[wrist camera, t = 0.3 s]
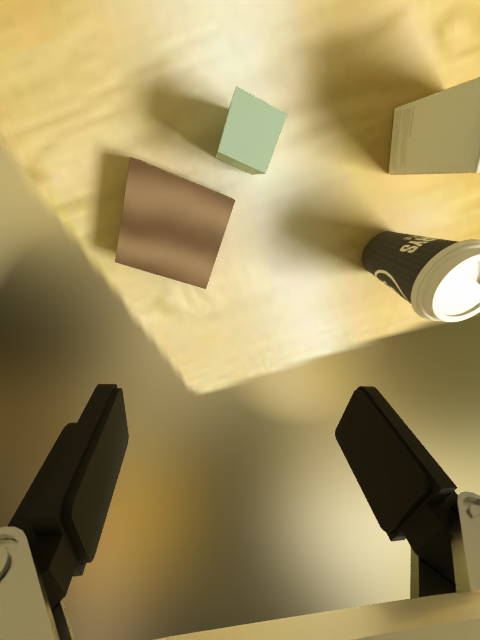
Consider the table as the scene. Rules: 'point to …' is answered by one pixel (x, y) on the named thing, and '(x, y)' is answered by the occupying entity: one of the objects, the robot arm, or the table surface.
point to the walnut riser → (171, 225)
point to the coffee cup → (428, 273)
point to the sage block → (250, 133)
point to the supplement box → (438, 133)
